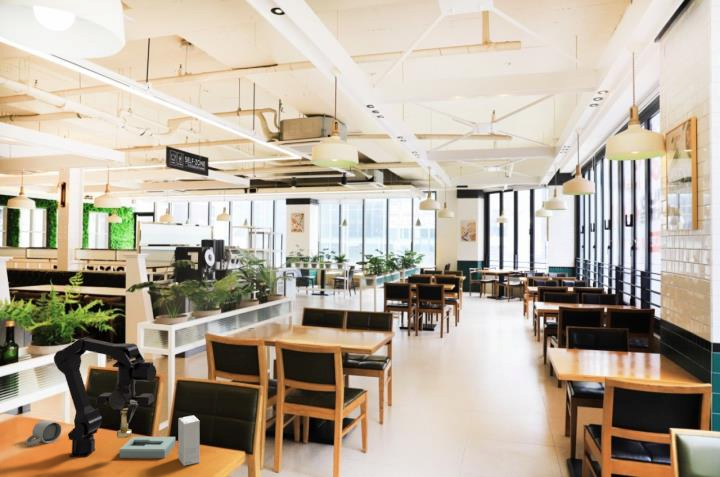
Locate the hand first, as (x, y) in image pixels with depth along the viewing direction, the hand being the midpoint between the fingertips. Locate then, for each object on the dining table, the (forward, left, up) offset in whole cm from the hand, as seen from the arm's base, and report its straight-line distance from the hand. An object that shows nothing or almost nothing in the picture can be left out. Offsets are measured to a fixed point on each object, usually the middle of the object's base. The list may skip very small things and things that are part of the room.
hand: (124, 422), depth 178 cm
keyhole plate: (+7, +6, -13) cm, 15 cm away
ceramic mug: (-37, +15, -13) cm, 42 cm away
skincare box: (+24, -2, -13) cm, 27 cm away
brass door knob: (0, 0, -4) cm, 5 cm away
